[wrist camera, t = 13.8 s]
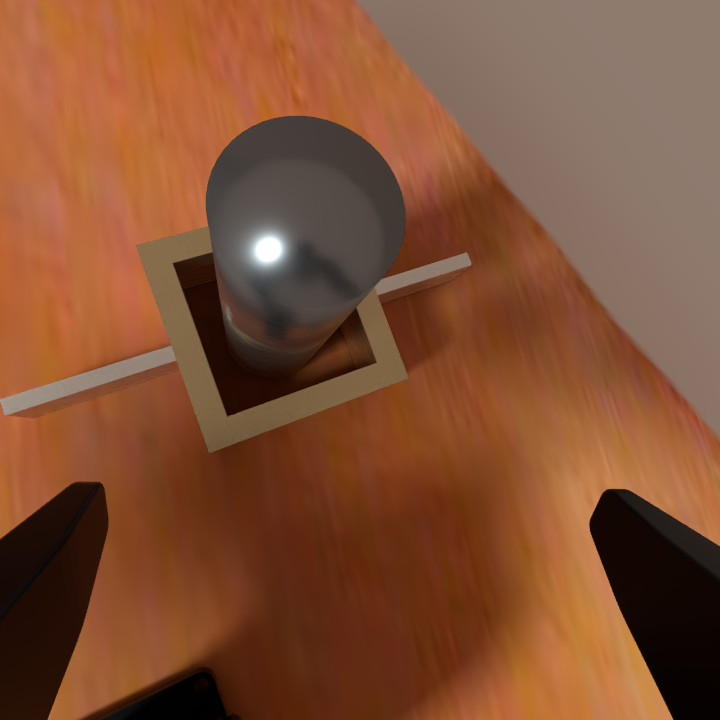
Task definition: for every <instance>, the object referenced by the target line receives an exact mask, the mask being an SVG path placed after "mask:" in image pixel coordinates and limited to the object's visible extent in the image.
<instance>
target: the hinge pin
mask: <svg viewBox="0 0 720 720" xmlns="http://www.w3.org/2000/svg"><path fill="white" fill-rule="evenodd" d="M206 212H207V220H208V226H209V233H210V239H211V245H212V252H213V258H214V264H215V271H216V277H217V284H218V290H219V296H220V303H221V309H222V315H223V322H224V328H225V335H226V341H227V345H228V348H229V351H230V353H231V355H232V356H233V358H234V359H235V361H236V362H237V363H238V364H239V365H240V366H241V367H242V368H243V369H245V370H246V371H248V372H249V373H251V374H253V375H256V376H259V377H263V378H281V377H285V376H288V375H291V374H293V373H295V372H296V371H298V370H299V369H301V368H302V367H303V366H304V365H305V364H306V363H307V362H308V361H309V360H310V358H311V357H312V356H313V355H314V354H315V353H316V352H317V351H318V350H319V348H320V347H321V346H322V345H323V344H324V343H325V342H326V341H327V339H328V338H329V337H330V336H331V335H332V334H333V333H334V332H335V331H336V329H337V328H338V327H339V326H340V325H341V324H342V323H343V322H344V321H345V319H346V318H347V317H348V316H349V315H350V314H351V313H352V312H353V310H354V309H355V308H356V307H357V306H358V305H359V304H360V303H361V302H362V300H363V299H364V298H365V297H366V296H367V295H368V294H369V293H370V291H371V290H372V289H373V288H374V287H375V286H376V285H377V284H378V283H379V281H380V280H381V279H382V278H383V277H384V276H385V275H386V273H387V272H388V271H389V269H390V268H391V267H392V265H393V263H394V261H395V260H396V258H397V256H398V254H399V251H400V248H401V245H402V242H403V237H404V233H405V221H406V220H405V207H404V201H403V196H402V193H401V190H400V187H399V184H398V182H397V180H396V177H395V175H394V173H393V172H392V170H391V168H390V167H389V165H388V164H387V162H386V161H385V160H384V158H383V157H382V156H381V155H380V153H379V152H378V151H377V150H376V149H375V148H374V147H373V146H372V145H371V144H369V143H368V142H367V141H366V140H365V139H363V138H362V137H361V136H359V135H358V134H356V133H354V132H353V131H351V130H350V129H347V128H345V127H343V126H341V125H339V124H337V123H334V122H331V121H328V120H324V119H320V118H315V117H308V116H286V117H279V118H274V119H270V120H267V121H263V122H261V123H259V124H257V125H254V126H252V127H250V128H249V129H247V130H245V131H244V132H242V133H241V134H240V135H238V136H237V137H236V138H235V139H233V140H232V141H231V142H230V144H229V145H228V146H227V147H226V148H225V149H224V150H223V152H222V153H221V155H220V156H219V158H218V159H217V161H216V163H215V165H214V167H213V169H212V172H211V175H210V178H209V181H208V186H207V193H206Z"/></svg>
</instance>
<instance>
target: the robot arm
mask: <svg viewBox="0 0 720 720" xmlns="http://www.w3.org/2000/svg"><path fill="white" fill-rule="evenodd" d="M589 525H590V532H591V535H592V538H593V541H594V543H595V546H596V549H597V551H598V554H599V556H600V559H601V562H602V564H603V567H604V570H605V572H606V575H607V578H608V580H609V583H610V586H611V588H612V591H613V593H614V596H615V599H616V601H617V603H618V606H619V608H620V611H621V613H622V615H623V617H624V619H625V621H626V624H627V626H628V628H629V630H630V632H631V634H632V636H633V638H634V640H635V642H636V644H637V646H638V648H639V650H640V652H641V654H642V656H643V658H644V660H645V662H646V665H647V667H648V669H649V671H650V673H651V675H652V677H653V679H654V681H655V683H656V685H657V687H658V689H659V691H660V693H661V695H662V697H663V699H664V701H665V703H666V706H667V708H668V710H669V712H670V714H671V716H672V718H673V720H720V546H718V545H717V544H715V543H714V542H712V541H710V540H709V539H707V538H706V537H704V536H702V535H701V534H699V533H697V532H696V531H694V530H693V529H691V528H689V527H688V526H686V525H685V524H683V523H681V522H680V521H678V520H676V519H675V518H673V517H672V516H670V515H668V514H667V513H665V512H664V511H662V510H660V509H659V508H657V507H655V506H654V505H652V504H651V503H649V502H647V501H646V500H644V499H643V498H641V497H639V496H638V495H636V494H635V493H633V492H631V491H629V490H626V489H608V490H606V491H604V492H603V493H602V495H601V497H600V499H599V501H598V504H597V506H596V508H595V510H594V512H593V514H592V516H591V519H590V523H589ZM107 531H108V512H107V504H106V497H105V490H104V486H103V484H102V483H100V482H75V483H72V484H71V485H69V486H68V487H67V488H65V489H64V490H63V491H62V492H60V493H59V494H58V495H56V496H55V497H54V498H53V499H51V500H50V501H49V502H47V503H46V504H45V505H43V506H42V507H41V508H40V509H38V510H37V511H36V512H34V513H33V514H32V515H31V516H29V517H28V518H27V519H25V520H24V521H23V522H22V523H20V524H19V525H18V526H16V527H15V528H14V529H12V530H11V531H10V532H9V533H7V534H6V535H5V536H3V537H2V538H1V539H0V720H47V719H48V716H49V714H50V711H51V709H52V706H53V703H54V701H55V698H56V696H57V693H58V690H59V688H60V685H61V683H62V680H63V677H64V675H65V672H66V669H67V667H68V664H69V662H70V659H71V656H72V654H73V651H74V649H75V646H76V643H77V641H78V638H79V635H80V632H81V629H82V627H83V623H84V620H85V616H86V613H87V609H88V605H89V601H90V597H91V593H92V590H93V586H94V582H95V578H96V574H97V570H98V567H99V563H100V559H101V555H102V551H103V547H104V543H105V540H106V536H107ZM202 678H203V679H206V680H207V681H208V685H207V686H206V687H204V688H199V687H197V685H196V681H198V680H199V679H202ZM93 720H241V718H240V716H238V715H236V714H234V713H232V714H230V715H229V714H228V711H227V709H226V706H225V703H224V700H223V697H222V694H221V691H220V688H219V685H218V682H217V679H216V676H215V674H214V672H213V671H212V670H211V669H209V668H206V667H202V668H198V669H196V670H194V671H192V672H190V673H188V674H186V675H184V676H182V677H180V678H177V679H175V680H173V681H171V682H169V683H167V684H165V685H163V686H161V687H159V688H157V689H155V690H153V691H151V692H149V693H146V694H144V695H142V696H140V697H138V698H136V699H134V700H132V701H130V702H128V703H126V704H124V705H122V706H120V707H118V708H115V709H113V710H111V711H109V712H107V713H105V714H103V715H101V716H99V717H97V718H95V719H93Z"/></svg>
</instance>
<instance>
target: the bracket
mask: <svg viewBox="0 0 720 720" xmlns="http://www.w3.org/2000/svg"><path fill="white" fill-rule="evenodd" d="M136 247H137V250H138V253H139V256H140V258H141V261H142V264H143V267H144V270H145V273H146V275H147V278H148V281H149V284H150V287H151V290H152V293H153V295H154V298H155V301H156V304H157V307H158V310H159V312H160V315H161V318H162V321H163V324H164V327H165V330H166V332H167V335H168V338H169V341H170V344H171V346H168V347H165V348H161V349H158V350H155V351H152V352H149V353H146V354H142V355H139V356H136V357H133V358H130V359H126V360H123V361H120V362H117V363H114V364H111V365H107V366H104V367H101V368H98V369H95V370H92V371H88V372H85V373H82V374H79V375H76V376H72V377H69V378H66V379H63V380H60V381H57V382H53V383H50V384H47V385H44V386H41V387H38V388H34V389H31V390H28V391H25V392H22V393H18V394H15V395H12V396H9V397H6V398H3V399H0V403H1V406H2V409H3V412H4V415H5V416H14V417H26V418H35V417H38V416H41V415H44V414H47V413H50V412H53V411H56V410H59V409H62V408H65V407H68V406H72V405H75V404H78V403H81V402H84V401H87V400H90V399H93V398H96V397H99V396H102V395H105V394H108V393H111V392H114V391H117V390H120V389H123V388H126V387H129V386H132V385H135V384H138V383H142V382H145V381H148V380H151V379H154V378H157V377H160V376H163V375H166V374H169V373H172V372H175V371H178V370H180V372H181V375H182V378H183V381H184V384H185V386H186V389H187V392H188V395H189V398H190V401H191V404H192V406H193V409H194V412H195V415H196V418H197V421H198V423H199V426H200V429H201V432H202V435H203V438H204V441H205V443H206V446H207V449H208V452H209V453H211V452H214V451H216V450H219V449H222V448H224V447H227V446H230V445H232V444H235V443H238V442H240V441H243V440H246V439H248V438H251V437H254V436H256V435H259V434H262V433H264V432H267V431H270V430H272V429H275V428H278V427H280V426H283V425H286V424H288V423H291V422H294V421H296V420H299V419H302V418H304V417H307V416H310V415H312V414H315V413H317V412H320V411H323V410H325V409H328V408H331V407H333V406H336V405H339V404H341V403H344V402H347V401H349V400H352V399H355V398H357V397H360V396H363V395H365V394H368V393H371V392H373V391H376V390H379V389H381V388H384V387H387V386H389V385H392V384H395V383H397V382H400V381H403V380H405V379H408V378H409V377H408V375H407V372H406V369H405V367H404V364H403V361H402V359H401V356H400V354H399V351H398V348H397V346H396V343H395V340H394V338H393V335H392V332H391V330H390V327H389V324H388V322H387V319H386V317H385V314H384V311H383V309H382V306H381V304H382V303H385V302H388V301H391V300H394V299H397V298H400V297H403V296H406V295H409V294H412V293H415V292H418V291H422V290H425V289H428V288H431V287H434V286H437V285H440V284H443V283H446V282H449V281H451V280H452V279H453V278H455V277H456V276H457V275H459V274H460V273H462V272H463V271H464V270H466V269H467V268H468V267H470V266H471V265H472V264H471V261H470V259H469V256H468V253H467V252H466V253H463V254H460V255H457V256H454V257H450V258H447V259H444V260H441V261H438V262H435V263H431V264H428V265H425V266H422V267H419V268H416V269H412V270H409V271H406V272H403V273H400V274H396V275H393V276H390V277H387V278H384V279H381V280H380V281H379V283H378V284H377V285H376V286H375V287H374V288H373V289H372V290H371V291H370V293H369V294H368V295H367V296H366V297H365V298H364V299H363V300H362V302H361V303H360V304H359V305H358V306H357V307H356V308H355V309H354V310H353V312H352V313H351V314H350V315H349V316H348V317H347V318H346V319H345V321H344V322H343V323H342V324H341V325H340V328H341V330H342V333H343V336H344V338H345V341H346V344H347V346H348V349H349V352H350V354H351V357H352V360H353V362H354V365H355V368H356V370H355V371H353V372H350V373H347V374H344V375H342V376H339V377H336V378H333V379H330V380H328V381H325V382H322V383H319V384H317V385H314V386H311V387H308V388H306V389H303V390H300V391H297V392H294V393H292V394H289V395H286V396H283V397H281V398H278V399H275V400H272V401H270V402H267V403H264V404H261V405H258V406H256V407H253V408H250V409H247V410H245V411H242V412H239V413H236V414H234V415H231V416H228V414H227V412H226V409H225V406H224V403H223V400H222V397H221V395H220V392H219V389H218V386H217V383H216V381H215V378H214V375H213V372H212V369H211V367H210V364H209V361H208V358H207V355H206V352H205V350H204V347H203V344H202V341H201V338H200V336H199V333H198V330H197V327H196V324H195V321H194V319H193V316H192V313H191V310H190V307H189V305H188V302H187V299H186V296H185V293H184V290H183V289H186V288H189V287H193V286H196V285H200V284H203V283H207V282H210V281H214V280H217V277H216V271H215V264H214V258H213V252H212V245H211V239H210V233H209V226H208V227H204V228H200V229H196V230H192V231H188V232H185V233H181V234H177V235H173V236H169V237H165V238H161V239H158V240H154V241H150V242H146V243H142V244H138V245H136Z"/></svg>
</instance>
